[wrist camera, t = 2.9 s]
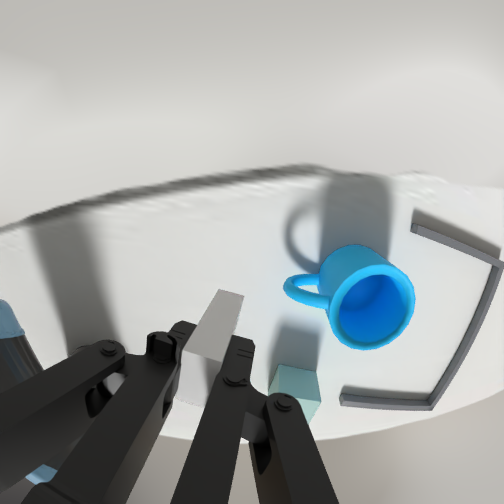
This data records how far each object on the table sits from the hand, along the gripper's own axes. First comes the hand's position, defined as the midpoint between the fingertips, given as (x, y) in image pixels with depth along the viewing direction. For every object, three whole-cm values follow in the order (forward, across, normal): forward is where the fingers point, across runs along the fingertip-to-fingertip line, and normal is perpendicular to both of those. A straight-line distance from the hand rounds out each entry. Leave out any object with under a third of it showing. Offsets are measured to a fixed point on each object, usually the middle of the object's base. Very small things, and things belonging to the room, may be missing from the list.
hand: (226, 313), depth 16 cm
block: (+15, +9, -15) cm, 23 cm away
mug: (+15, +10, 0) cm, 18 cm away
